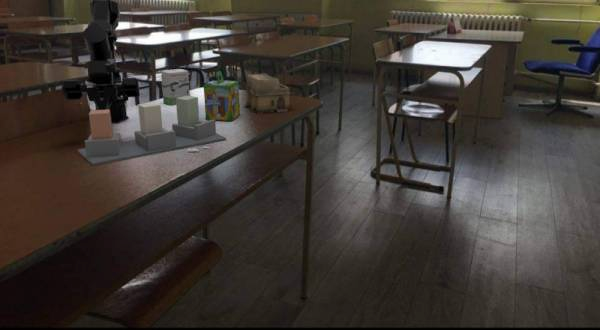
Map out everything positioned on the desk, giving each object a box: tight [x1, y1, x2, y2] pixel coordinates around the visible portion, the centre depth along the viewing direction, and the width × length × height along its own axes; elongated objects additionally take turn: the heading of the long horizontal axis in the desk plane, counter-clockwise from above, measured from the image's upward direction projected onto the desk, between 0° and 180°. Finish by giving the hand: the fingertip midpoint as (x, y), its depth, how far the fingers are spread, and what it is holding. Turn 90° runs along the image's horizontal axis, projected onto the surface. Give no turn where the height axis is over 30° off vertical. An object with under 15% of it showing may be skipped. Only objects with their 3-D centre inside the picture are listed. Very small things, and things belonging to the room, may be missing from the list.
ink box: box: [161, 68, 191, 106], centre depth 181 cm, size 9×5×12 cm, turn 134°
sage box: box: [175, 95, 200, 127], centre depth 142 cm, size 4×4×10 cm
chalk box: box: [202, 70, 241, 122], centre depth 161 cm, size 9×9×15 cm
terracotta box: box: [88, 109, 114, 140], centre depth 126 cm, size 4×4×10 cm
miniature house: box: [244, 73, 292, 114], centre depth 173 cm, size 15×14×11 cm
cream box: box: [137, 101, 163, 135], centre depth 133 cm, size 4×4×10 cm
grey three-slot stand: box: [77, 120, 227, 166], centre depth 134 cm, size 14×36×5 cm, turn 128°
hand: (102, 116), depth 130 cm, fingers closed
